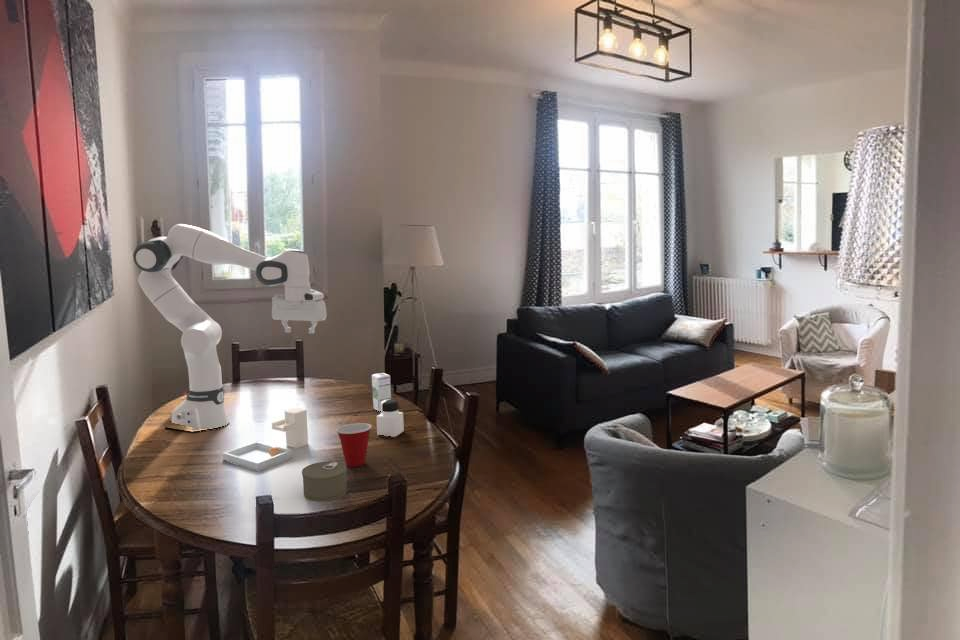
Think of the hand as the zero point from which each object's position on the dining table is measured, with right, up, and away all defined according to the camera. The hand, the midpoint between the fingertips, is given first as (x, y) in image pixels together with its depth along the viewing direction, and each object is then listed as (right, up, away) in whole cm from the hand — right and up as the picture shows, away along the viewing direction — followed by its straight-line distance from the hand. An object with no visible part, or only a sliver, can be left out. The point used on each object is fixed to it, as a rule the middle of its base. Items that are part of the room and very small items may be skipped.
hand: (299, 332), depth 232 cm
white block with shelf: (+2, -38, -17) cm, 42 cm away
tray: (-6, -40, -28) cm, 49 cm away
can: (+22, -44, -54) cm, 73 cm away
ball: (0, -37, -28) cm, 46 cm away
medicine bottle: (+33, -36, -4) cm, 49 cm away
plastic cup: (+26, -40, -32) cm, 58 cm away
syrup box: (+26, -32, +26) cm, 48 cm away
